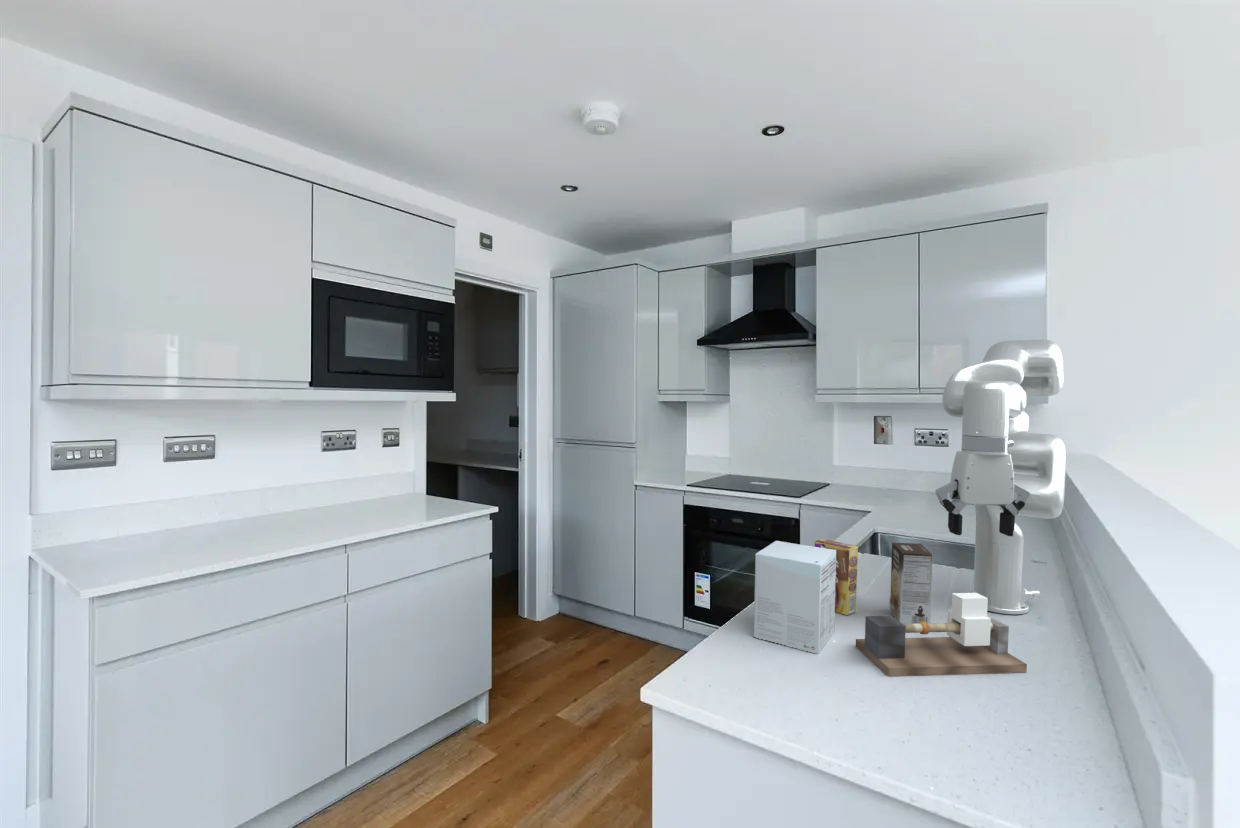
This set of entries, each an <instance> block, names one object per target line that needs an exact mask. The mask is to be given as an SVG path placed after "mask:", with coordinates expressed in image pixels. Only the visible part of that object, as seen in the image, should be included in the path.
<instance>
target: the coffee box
mask: <svg viewBox="0 0 1240 828" xmlns="http://www.w3.org/2000/svg"><path fill="white" fill-rule="evenodd" d="M933 558H934V557H933V554H932V553H931V552H930V551H929V550H928V549H927V548H926V547H925V546H924V544H922V543H914V542H913V543H910V542H909V543H908V542H892V543H891V566H890V570H891V571H890V596H889V597H890V598H889V599H890V600H889V610H890V612H891V614H892V615H893V617H894V618H895V619H896V620H898V621H899V622H901V623H902V624H918V622H926V623H931V622H930V621H931V620H930V618H931V598H932V578H933V576H932V575H933Z"/></svg>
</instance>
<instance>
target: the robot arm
mask: <svg viewBox="0 0 1240 828" xmlns="http://www.w3.org/2000/svg"><path fill="white" fill-rule="evenodd" d="M1063 357H1064V356H1063V353H1062V350H1061V348H1060V346H1059V345H1058V344H1057V343H1056V342H1055V341H1054V340H1051V339H1023V340H1022V339H1021V340H1018V339H1017V340H1015V339H1014V340H1004V341H999V342H997V343H995V344H992V346H990V347H989V348H988V350H987V351H986V353H985V355H984V357H983V360H982V361H981V362H977V363H976V364H971V365H970V366H966V367H963V368H960V369H958V370H957V371H955V372H953V374H951V376H950V377H949V378H948V381H947V383H946V385H945V387H944V389H943V393H942V402H941V403H942V407H943V409H944V411H945V413H946V414H948V415H949V416H951V417H954V418H962V420H961V421H962V424H961V425H962V427H961V451H960V450H959V451H956V453H955V456H954V459H953V462H952V463H953V464H952V469H951V473H950V482H949V483H947V484H944V485H942V486H941V487H938V488H937V489H935V491H934V492H935V495H936V496H937V499H938V500H939V503H940V505H941V506H943V508H944V509H945V511H946V512H948V513H947V514H948V516H947V518H948V519H947V527H948V529H949V530H948V531H949V532H950V533H951V534H954V535H956V536H961V535H962V534H963V515H962V514H961V511H963V510H964V508H966V506H974V510H975V511H974V512H975V538H974V539H975V541H974V542H975V543H974V544H975V545H974V565H973V566H974V567H973V568H974V569H973V570H974V571H973V591H969V592H968V593H978V594H980V595H982V596H984V597H986V598H988V605H987V612H992V613H997V614H1003V615H1023V614H1026V613H1028V612H1029V611H1030V610H1029V609H1030V607H1029V604H1028V603H1027V602H1026V600H1027V601H1028V599H1031V600H1032V599H1033V600H1034V599H1036V600H1038V599H1040V598H1041V592H1040V591H1039V590H1037V589H1036V590H1035V589H1034V590H1033V589H1032V590H1031V589H1030V590H1027V589H1026V588H1025V587H1022V586H1023V585H1022V582H1023V562H1024V561H1023V560H1024V558H1023V557H1024V538H1025V537H1024V534H1023V533H1024V532H1023V531H1022V529H1021V527H1020V526H1019V524H1017V522H1016V521H1015V520H1016V516H1021V517H1031V518H1036V519H1037V518H1039V519H1047V520H1048V519H1049V520H1051V519H1056V518H1058V517H1060V516H1061V514H1062V512H1063V510H1064V505H1065V493H1066V491H1065V489H1066V471H1067V470H1066V467H1067V452H1066V445H1065V444H1064V441H1063V440H1062V439H1061V438H1060V437H1059V436H1057V435H1054V434H1050V433H1033V432H1029V426H1030V416H1029V414H1028V413H1027V412H1026V411H1025V409H1026V407H1027V399H1028V397H1029V396H1030V397H1050V396H1056V395H1058V394H1059V393H1060V392H1061V391H1062V390H1063V387H1064V383H1065V368H1064V367H1065V366H1064V358H1063ZM1021 473H1024V474H1021ZM1031 474H1033V475H1031ZM1035 474H1036V475H1035ZM948 494H949V497H948ZM949 498H950V499H951V500H949Z"/></svg>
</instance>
